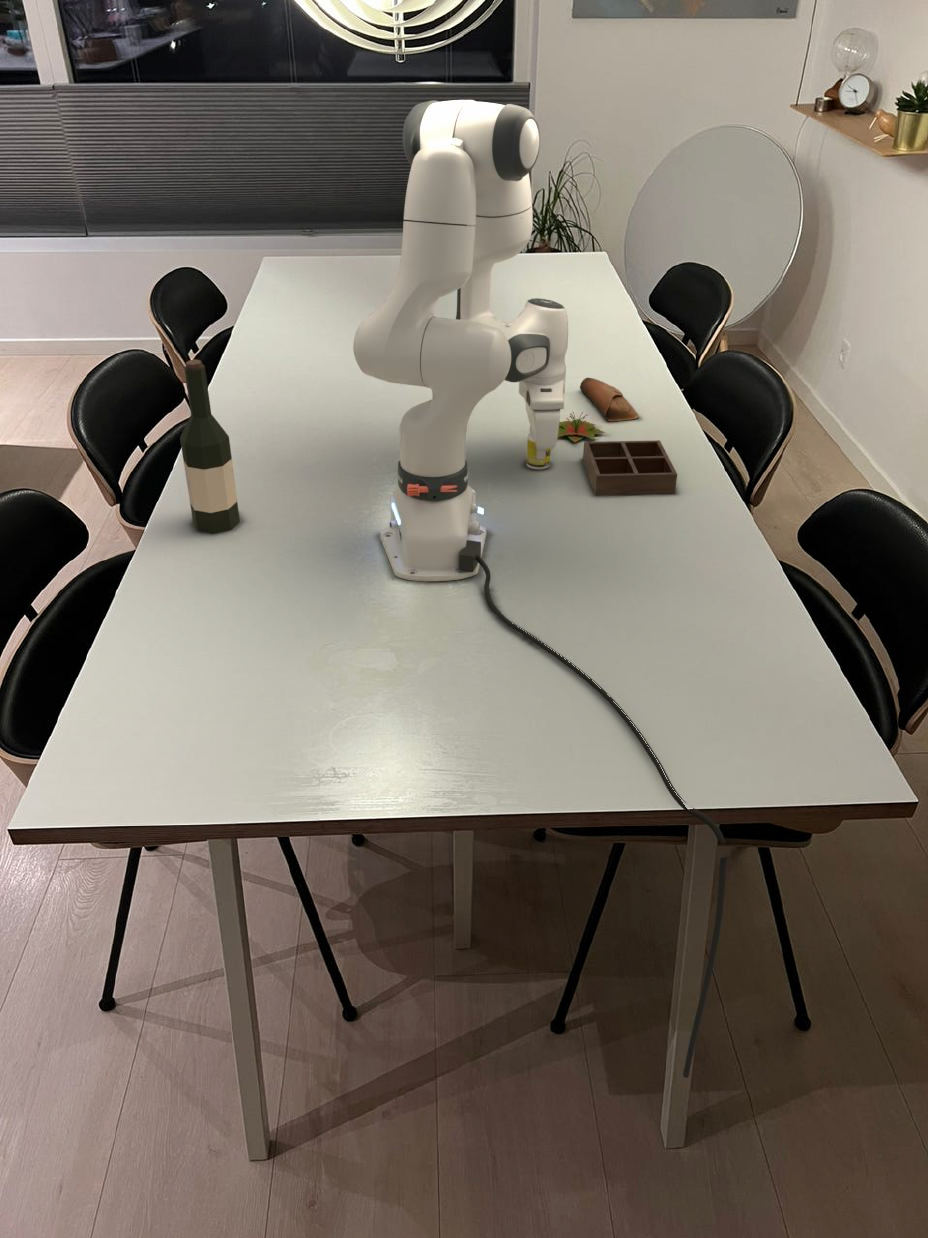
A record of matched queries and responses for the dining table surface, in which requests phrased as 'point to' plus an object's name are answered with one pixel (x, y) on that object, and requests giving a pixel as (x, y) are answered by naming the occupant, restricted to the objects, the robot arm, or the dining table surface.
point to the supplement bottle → (531, 455)
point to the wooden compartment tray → (629, 468)
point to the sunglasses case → (608, 400)
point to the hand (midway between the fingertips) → (538, 450)
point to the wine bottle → (207, 460)
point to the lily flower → (577, 429)
